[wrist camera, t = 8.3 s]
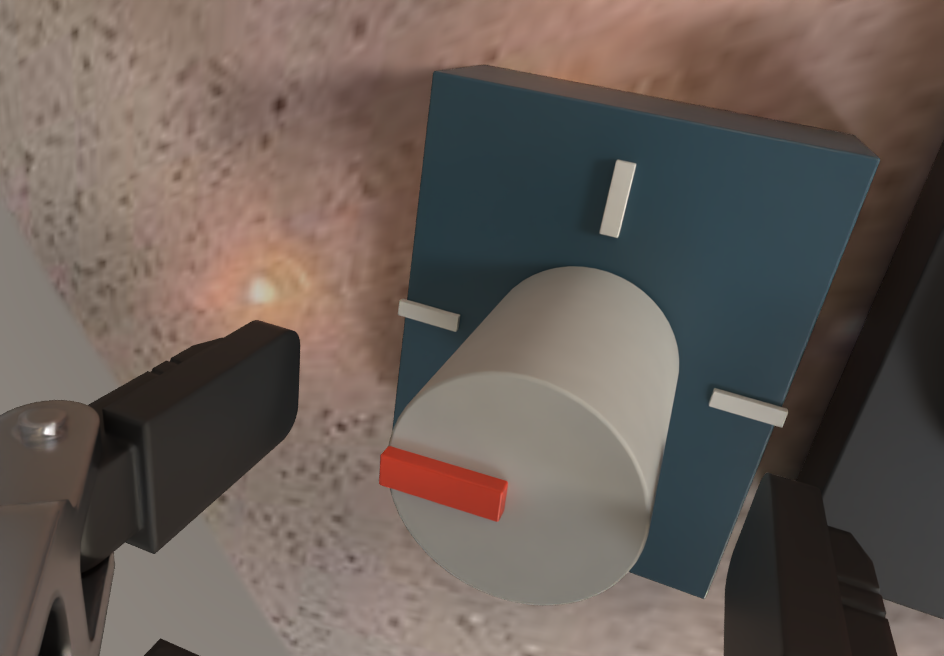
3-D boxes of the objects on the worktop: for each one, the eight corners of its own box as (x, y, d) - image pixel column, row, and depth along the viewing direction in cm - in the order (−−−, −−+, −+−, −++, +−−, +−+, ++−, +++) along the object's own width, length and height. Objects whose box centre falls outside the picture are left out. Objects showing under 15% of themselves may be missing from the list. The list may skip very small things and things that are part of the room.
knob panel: (714, 521, 18) (709, 607, 16) (427, 426, 20) (378, 487, 18) (861, 135, 14) (890, 160, 11) (478, 63, 16) (424, 69, 13)
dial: (700, 289, 13) (677, 427, 9) (655, 463, 15) (617, 658, 10) (499, 247, 14) (382, 350, 10) (479, 414, 16) (371, 570, 11)
